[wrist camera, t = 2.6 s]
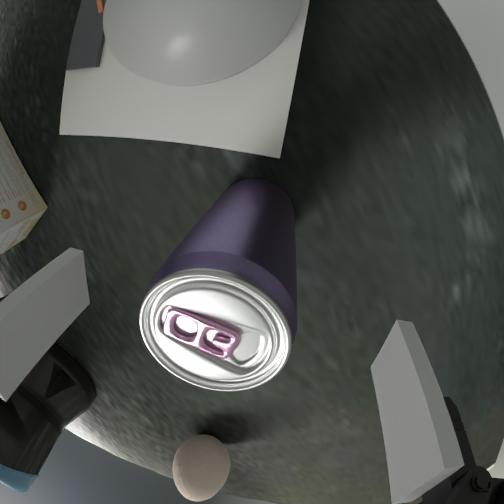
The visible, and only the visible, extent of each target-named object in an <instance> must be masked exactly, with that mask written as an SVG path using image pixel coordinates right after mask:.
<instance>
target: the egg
mask: <svg viewBox="0 0 504 504" xmlns="http://www.w3.org/2000/svg"><path fill="white" fill-rule="evenodd" d="M229 470H230V458H229V454H228V451H227V450H226V448H225V446H224V445H223V444H222V443H221V442H220V441H219V440H218V439H217V438H215V437H213V436H211V435H204V434H203V435H196V436H194V437H192V438H189V439H188V440H186V441H185V442H184V443H183V444H182V445H181V446H180V447H179V449H178V450H177V452H176V454H175V458H174V461H173V476H174V481H175V484H176V487H177V489H178V490H179V491H180V493H181V494H182V495H183V496H184V497H186V498H187V499H189V500H191V501H203V500H207V499H209V498H211V497H213V496H214V495H215V494H216V493H217V492H218V491H219V490H220V489H221V488H222V486H223V485H224V484H225V482H226V479H227V477H228V474H229Z"/></svg>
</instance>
